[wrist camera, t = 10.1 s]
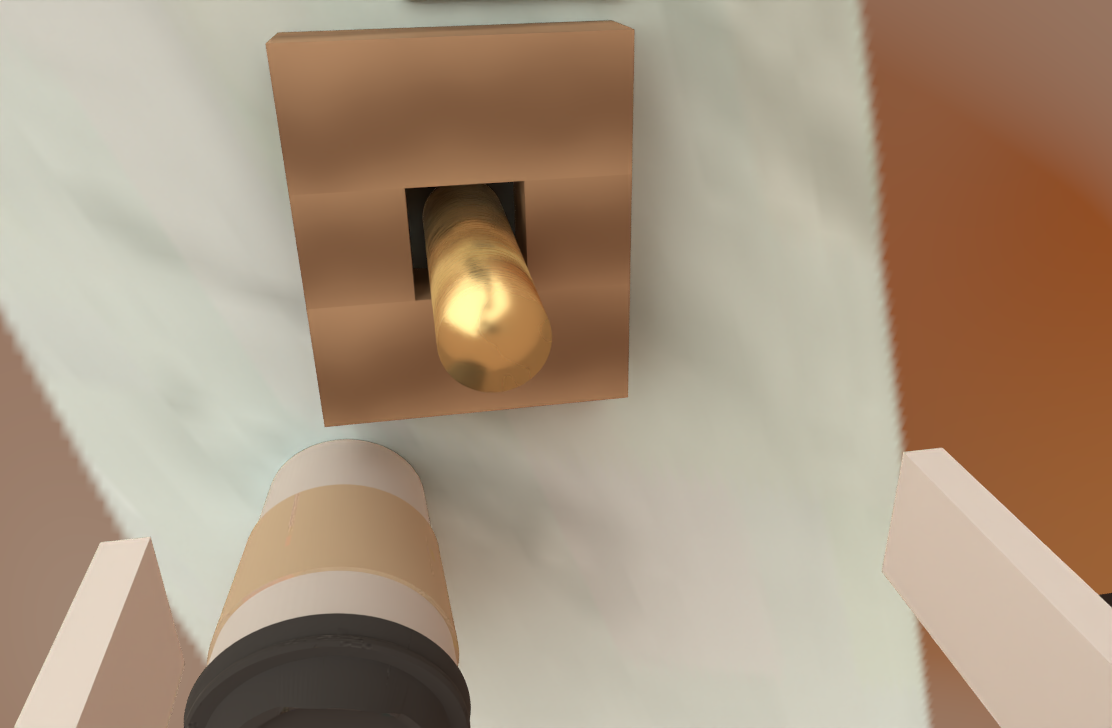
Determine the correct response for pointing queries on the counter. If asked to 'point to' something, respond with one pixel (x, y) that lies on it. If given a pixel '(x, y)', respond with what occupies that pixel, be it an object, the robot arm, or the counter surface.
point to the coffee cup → (336, 606)
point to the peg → (482, 292)
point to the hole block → (457, 159)
